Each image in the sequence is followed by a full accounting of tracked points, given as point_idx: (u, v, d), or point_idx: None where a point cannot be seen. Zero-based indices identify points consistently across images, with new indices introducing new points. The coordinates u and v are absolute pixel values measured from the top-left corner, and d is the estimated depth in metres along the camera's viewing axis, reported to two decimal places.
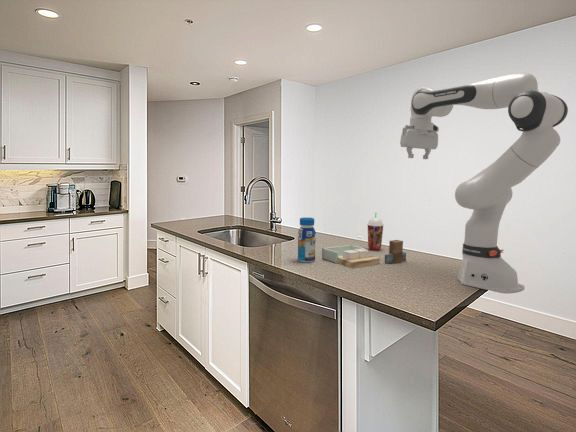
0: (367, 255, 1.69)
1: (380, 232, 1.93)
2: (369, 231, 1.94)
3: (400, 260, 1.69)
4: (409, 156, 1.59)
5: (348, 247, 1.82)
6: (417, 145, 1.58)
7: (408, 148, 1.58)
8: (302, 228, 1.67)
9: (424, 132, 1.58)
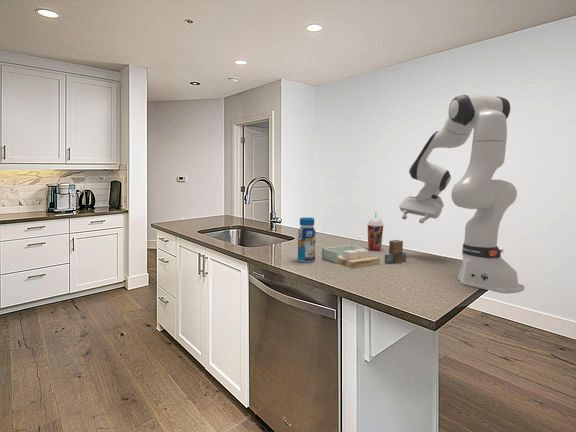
0: (367, 255, 1.69)
1: (380, 232, 1.93)
2: (369, 231, 1.94)
3: (400, 260, 1.69)
4: None
5: (348, 247, 1.82)
6: (410, 208, 1.77)
7: None
8: (302, 228, 1.67)
9: (420, 198, 1.76)
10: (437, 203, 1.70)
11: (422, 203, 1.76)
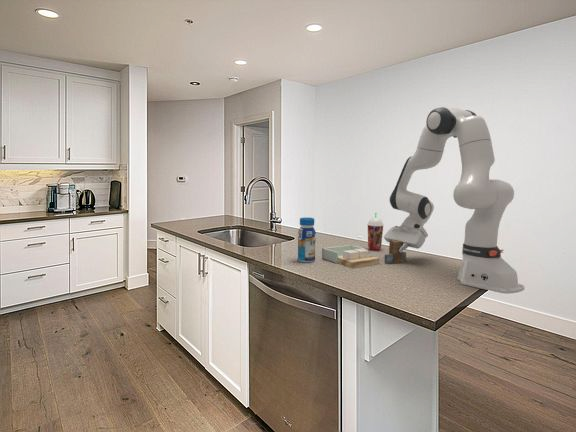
0: (367, 255, 1.69)
1: (380, 232, 1.93)
2: (369, 231, 1.94)
3: (400, 260, 1.69)
4: None
5: (348, 247, 1.82)
6: (394, 238, 1.73)
7: None
8: (302, 228, 1.67)
9: (403, 228, 1.72)
10: (419, 232, 1.64)
11: (405, 233, 1.70)
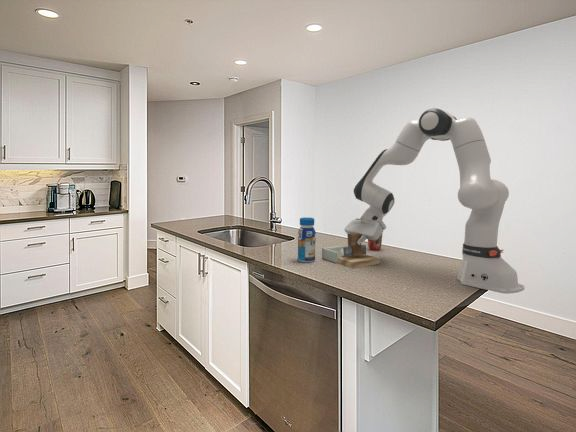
0: None
1: None
2: None
3: (360, 252, 1.68)
4: None
5: None
6: (353, 230, 1.71)
7: None
8: (302, 228, 1.67)
9: (362, 220, 1.70)
10: (376, 224, 1.63)
11: (364, 225, 1.69)
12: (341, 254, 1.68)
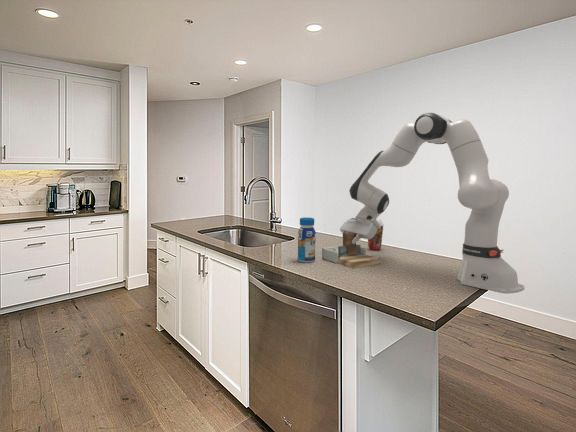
0: None
1: (380, 232, 1.93)
2: None
3: (354, 252, 1.71)
4: None
5: None
6: (348, 229, 1.75)
7: None
8: (302, 228, 1.67)
9: (357, 220, 1.73)
10: (371, 224, 1.66)
11: (359, 224, 1.72)
12: None
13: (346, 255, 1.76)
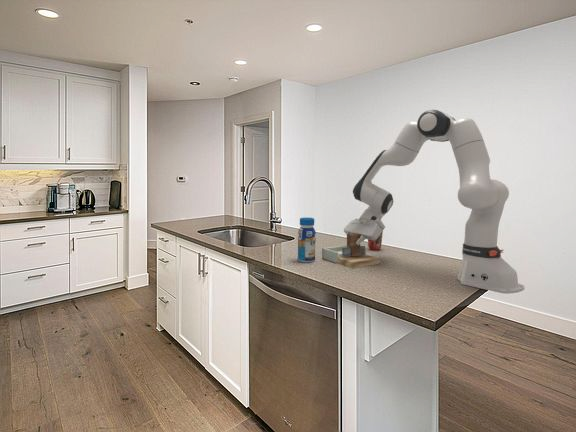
0: None
1: None
2: None
3: (358, 253, 1.69)
4: None
5: None
6: (352, 230, 1.72)
7: None
8: (302, 228, 1.67)
9: (361, 220, 1.71)
10: (375, 224, 1.64)
11: (363, 225, 1.70)
12: None
13: None
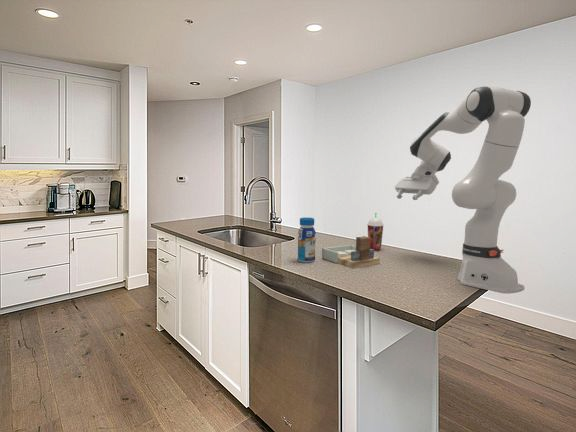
0: None
1: (380, 232, 1.93)
2: (369, 231, 1.94)
3: (367, 257, 1.63)
4: None
5: (348, 247, 1.82)
6: (405, 187, 1.74)
7: None
8: (302, 228, 1.67)
9: (414, 176, 1.73)
10: (430, 179, 1.65)
11: (417, 181, 1.72)
12: None
13: None
